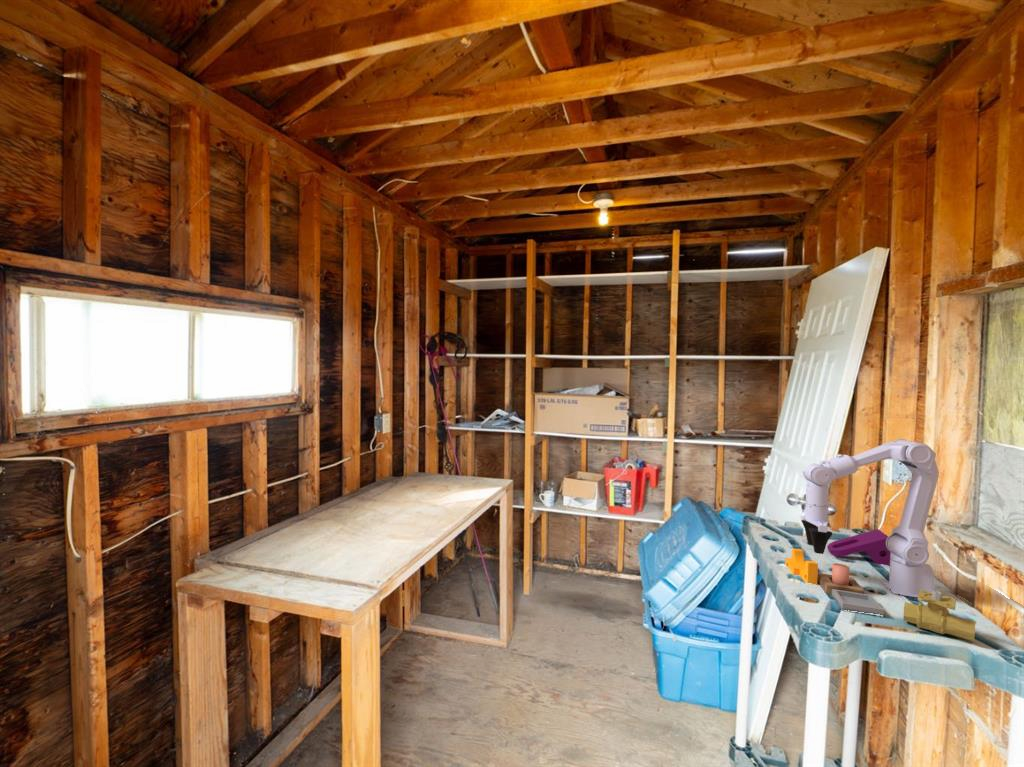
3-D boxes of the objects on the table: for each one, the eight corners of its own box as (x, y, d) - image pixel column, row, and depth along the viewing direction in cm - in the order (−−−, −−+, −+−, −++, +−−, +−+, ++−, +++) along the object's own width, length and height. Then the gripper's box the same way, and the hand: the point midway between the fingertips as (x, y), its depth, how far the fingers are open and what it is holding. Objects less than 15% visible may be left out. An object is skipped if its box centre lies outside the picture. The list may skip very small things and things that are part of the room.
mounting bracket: (843, 576, 158) (902, 561, 153) (831, 553, 160) (889, 537, 154) (834, 566, 167) (889, 551, 162) (823, 543, 168) (878, 529, 163)
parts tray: (870, 602, 127) (870, 594, 127) (883, 617, 119) (884, 610, 119) (831, 595, 130) (832, 588, 130) (842, 610, 122) (842, 603, 122)
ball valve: (902, 627, 114) (904, 587, 114) (906, 613, 122) (908, 575, 121) (974, 649, 105) (976, 606, 105) (974, 633, 113) (976, 592, 113)
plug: (845, 588, 135) (846, 564, 135) (850, 594, 132) (851, 570, 131) (829, 585, 137) (830, 562, 137) (834, 591, 133) (835, 567, 133)
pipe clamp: (785, 567, 150) (786, 547, 150) (799, 569, 149) (800, 549, 149) (801, 583, 138) (802, 562, 138) (817, 585, 137) (817, 563, 137)
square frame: (852, 586, 137) (853, 578, 137) (864, 599, 128) (864, 590, 128) (817, 580, 140) (817, 572, 140) (826, 593, 131) (826, 584, 131)
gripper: (796, 497, 148) (794, 539, 148) (807, 508, 134) (806, 555, 134) (821, 499, 145) (820, 542, 145) (836, 511, 132) (834, 558, 132)
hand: (815, 548), depth 140 cm, fingers open, 7 cm apart
